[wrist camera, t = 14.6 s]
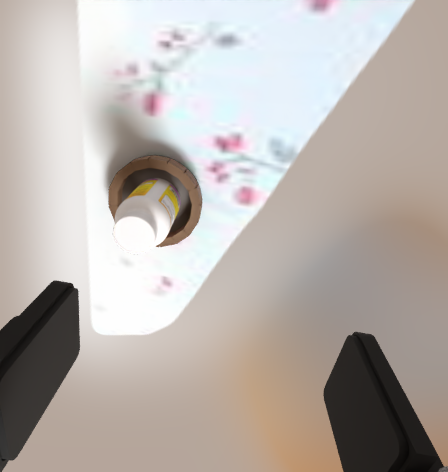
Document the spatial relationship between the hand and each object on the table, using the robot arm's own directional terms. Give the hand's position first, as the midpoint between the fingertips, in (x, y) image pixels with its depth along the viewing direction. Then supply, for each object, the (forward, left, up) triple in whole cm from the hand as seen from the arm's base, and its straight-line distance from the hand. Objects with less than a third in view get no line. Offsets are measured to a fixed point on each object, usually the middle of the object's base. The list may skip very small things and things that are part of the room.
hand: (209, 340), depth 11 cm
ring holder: (+9, -9, -36) cm, 39 cm away
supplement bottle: (+9, -9, -36) cm, 38 cm away
